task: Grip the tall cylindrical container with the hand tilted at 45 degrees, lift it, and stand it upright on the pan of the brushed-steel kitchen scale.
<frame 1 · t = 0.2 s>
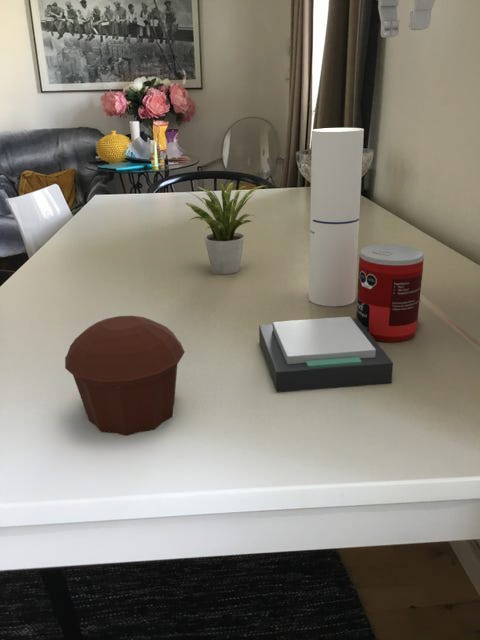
hand: (403, 33, 66), 36 cm above the table, tool pointing down, fingers open, 8 cm apart
muffin: (132, 413, 59), on the table
house plant: (230, 269, 105), on the table
canned food: (385, 332, 76), on the table
cylindrical container: (331, 299, 88), on the table
kitchen scale: (320, 361, 68), on the table
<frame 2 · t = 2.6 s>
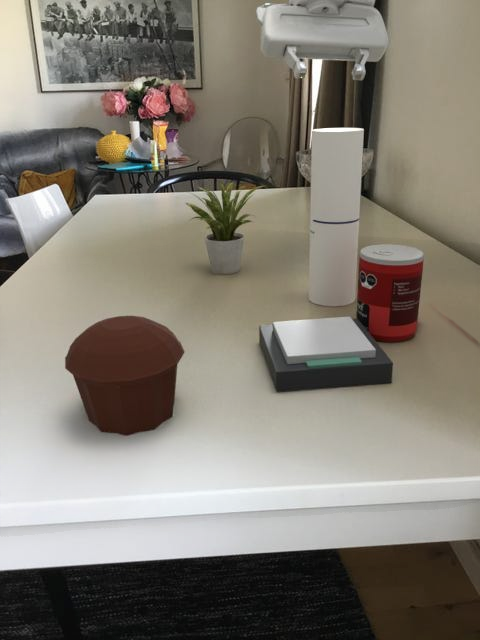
hand: (330, 76, 87), 32 cm above the table, tool tilted 40°, fingers open, 8 cm apart
nothing on the table moved.
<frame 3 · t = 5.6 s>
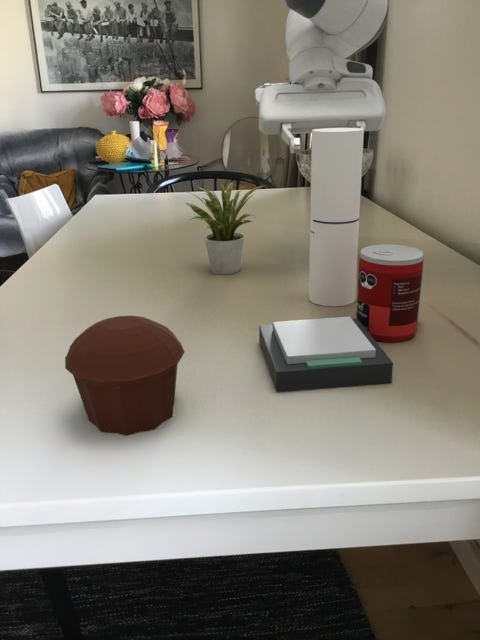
hand: (325, 149, 88), 21 cm above the table, tool tilted 45°, fingers open, 8 cm apart
nothing on the table moved.
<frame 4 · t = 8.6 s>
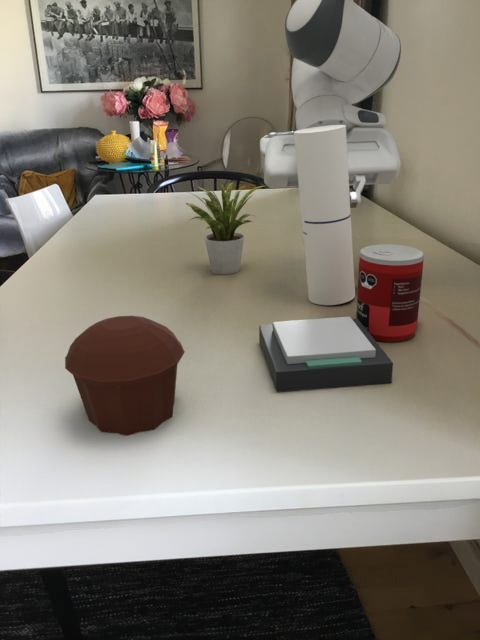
hand: (336, 206, 82), 14 cm above the table, tool tilted 45°, fingers closed on cylindrical container, 4 cm apart
cylindrical container: (331, 297, 88), on the table, touching gripper
everything else where it was.
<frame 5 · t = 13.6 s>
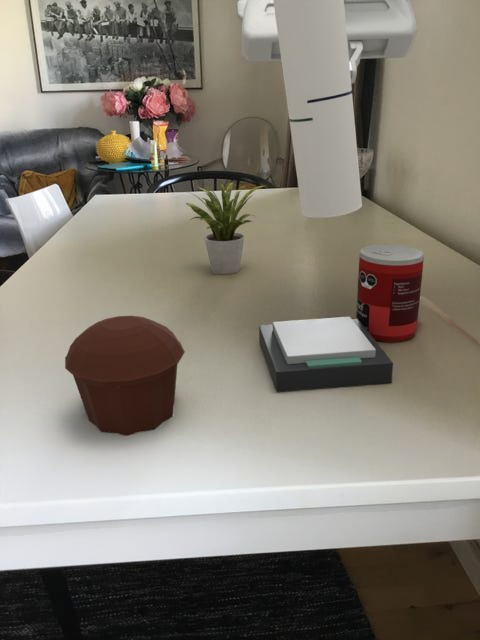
hand: (333, 79, 64), 31 cm above the table, tool tilted 45°, fingers closed on cylindrical container, 2 cm apart
cylindrical container: (331, 210, 68), point 17 cm above the table, touching gripper
everything else where it was.
when the fingers open (18 cm above the table, at t = 18.5 s): cylindrical container stays where it is, resting on kitchen scale.
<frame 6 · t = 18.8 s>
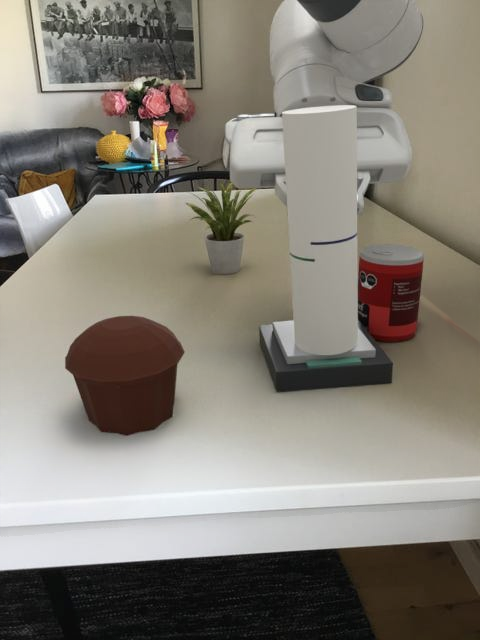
hand: (325, 213, 61), 18 cm above the table, tool tilted 45°, fingers open, 5 cm apart
cylindrical container: (326, 342, 65), point 4 cm above the table, touching kitchen scale
everything else where it was.
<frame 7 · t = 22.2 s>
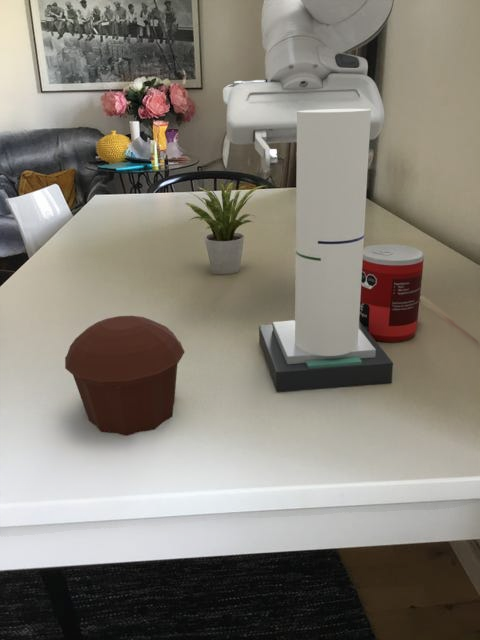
hand: (309, 163, 70), 22 cm above the table, tool tilted 45°, fingers open, 8 cm apart
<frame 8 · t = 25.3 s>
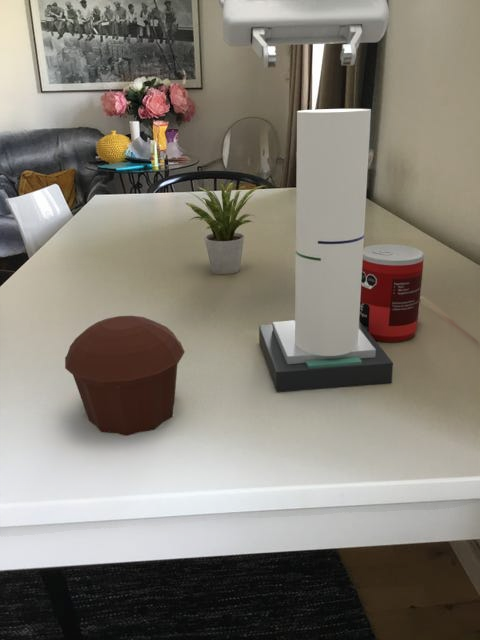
hand: (309, 62, 67), 33 cm above the table, tool tilted 45°, fingers open, 8 cm apart
nothing on the table moved.
at the end: cylindrical container inside the target area on the kitchen scale (2.2 cm from its centre), point 3.3 cm above the kitchen scale's base; cylindrical container tilted 0°; the gripper is holding nothing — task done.
